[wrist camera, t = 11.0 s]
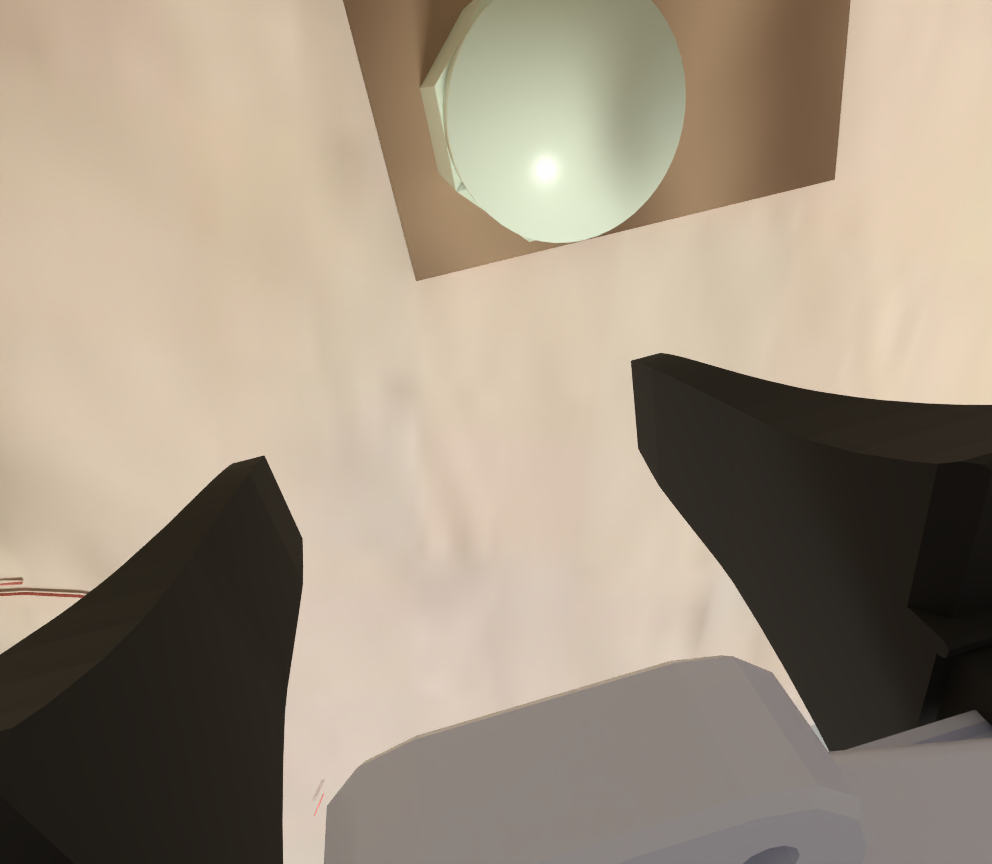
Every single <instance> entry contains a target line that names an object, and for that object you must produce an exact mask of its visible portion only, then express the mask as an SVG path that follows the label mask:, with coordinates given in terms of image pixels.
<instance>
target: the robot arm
mask: <svg viewBox="0 0 992 864" xmlns="http://www.w3.org/2000/svg"><path fill="white" fill-rule="evenodd" d="M631 367H632V379H633V391H634V403H635V415H636V427H637V439H638V449H639V451H640V453H641V454H642V456H643V458H644V460H645V462H646V464H647V466H648V467H649V469H650V471H651V473H652V474H653V476H654V478H655V480H656V481H657V483H658V485H659V486H660V488H661V489H662V490H663V492H664V493H665V494H666V496H667V497H668V498H669V499H670V501H671V502H672V503H673V505H674V506H675V507H676V509H677V510H678V511H679V512H680V514H681V515H682V516H683V518H684V519H685V520H686V521H687V523H688V524H689V525H690V526H691V528H692V529H693V530H694V531H695V533H696V534H697V535H698V537H699V538H700V539H701V540H702V542H703V543H704V544H705V545H706V547H707V548H708V549H709V551H710V552H711V553H712V554H713V556H714V557H715V558H716V559H717V561H718V562H719V563H720V565H721V566H722V567H723V569H724V570H725V572H726V573H727V574H728V576H729V577H730V579H731V580H732V581H733V583H734V584H735V586H736V588H737V589H738V591H739V592H740V594H741V596H742V597H743V599H744V601H745V602H746V604H747V605H748V607H749V609H750V610H751V612H752V614H753V615H754V617H755V618H756V620H757V622H758V623H759V625H760V627H761V628H762V630H763V632H764V634H765V635H766V637H767V639H768V640H769V642H770V644H771V646H772V647H773V649H774V651H775V652H776V654H777V656H778V658H779V659H780V661H781V663H782V664H783V666H784V668H785V670H786V671H787V673H788V675H789V677H790V679H791V681H792V682H793V684H794V686H795V688H796V690H797V691H798V693H799V695H800V697H801V699H802V701H803V702H804V704H805V706H806V708H807V710H808V712H809V713H810V715H811V717H812V719H813V721H814V723H815V724H816V726H817V728H818V730H819V732H820V734H821V736H822V737H823V740H824V742H825V744H826V745H827V747H828V749H829V752H828V751H827V749H826V748H825V747H824V745H823V744H822V742H821V741H820V740H819V738H818V737H817V735H816V734H815V733H814V731H813V730H812V728H811V727H810V725H809V724H808V723H807V721H806V720H805V718H804V717H803V715H802V714H801V713H800V711H799V710H798V708H797V707H796V706H795V704H794V703H793V701H792V700H791V698H790V697H789V696H788V694H787V693H786V691H785V690H784V689H783V687H782V686H781V684H780V683H779V681H778V680H777V679H776V677H775V676H774V674H773V673H772V672H770V671H767V670H765V669H762V668H760V667H757V666H755V665H752V664H750V663H748V662H745V661H743V660H740V659H738V658H735V657H733V656H713V657H703V658H694V659H685V660H676V661H669V662H666V663H662V664H659V665H656V666H652V667H649V668H645V669H642V670H639V671H635V672H632V673H628V674H625V675H622V676H618V677H615V678H611V679H608V680H605V681H601V682H598V683H594V684H591V685H588V686H584V687H581V688H577V689H574V690H571V691H567V692H564V693H561V694H557V695H554V696H550V697H547V698H544V699H540V700H537V701H533V702H530V703H527V704H523V705H520V706H516V707H513V708H510V709H506V710H503V711H499V712H496V713H493V714H489V715H486V716H482V717H479V718H476V719H472V720H469V721H465V722H462V723H459V724H455V725H452V726H449V727H445V728H442V729H438V730H435V731H432V732H428V733H425V734H421V735H418V736H415V737H413V738H411V739H409V740H407V741H405V742H403V743H401V744H399V745H397V746H395V747H393V748H391V749H389V750H387V751H385V752H383V753H381V754H379V755H377V756H375V757H373V758H371V759H369V760H367V761H365V762H364V763H363V764H361V765H360V766H359V767H358V768H357V769H356V770H355V771H354V773H353V774H352V775H351V776H350V778H349V779H348V780H347V781H346V783H345V784H344V785H343V786H342V788H341V789H340V790H339V791H338V793H337V794H336V795H335V796H334V798H333V799H332V800H331V802H330V803H329V804H328V805H327V815H326V834H325V853H324V864H992V405H950V404H925V403H912V402H899V401H885V400H875V399H866V398H858V397H851V396H844V395H838V394H831V393H824V392H818V391H813V390H807V389H802V388H797V387H793V386H789V385H784V384H780V383H775V382H771V381H767V380H763V379H759V378H755V377H751V376H747V375H744V374H740V373H736V372H733V371H729V370H726V369H722V368H719V367H715V366H712V365H708V364H705V363H701V362H698V361H694V360H691V359H687V358H683V357H679V356H675V355H671V354H664V353H659V354H655V355H651V356H647V357H643V358H640V359H636V360H632V361H631ZM302 586H303V542H302V537H301V535H300V532H299V530H298V528H297V526H296V524H295V521H294V519H293V517H292V515H291V513H290V510H289V508H288V506H287V504H286V502H285V500H284V497H283V495H282V493H281V491H280V489H279V486H278V484H277V482H276V480H275V478H274V475H273V473H272V471H271V469H270V467H269V465H268V462H267V460H266V458H265V456H260V457H256V458H253V459H249V460H245V461H241V462H237V463H233V464H231V465H230V466H228V467H227V468H226V469H225V470H223V471H222V472H221V473H220V474H219V475H218V476H217V477H216V478H214V479H213V480H212V481H211V482H210V483H209V484H208V485H207V486H206V487H205V488H204V489H203V490H202V491H201V492H200V493H199V494H198V495H197V496H196V497H195V498H194V499H193V500H192V501H191V502H190V503H189V504H188V505H187V506H186V507H185V508H184V509H183V510H182V511H181V512H180V513H179V514H178V515H177V516H176V517H175V518H174V519H173V520H172V521H171V522H169V523H168V524H167V525H166V526H165V527H164V528H163V529H162V530H161V531H160V532H159V533H158V534H157V535H156V536H154V537H153V538H152V539H151V540H150V541H149V542H148V543H147V544H146V545H145V546H143V547H142V548H141V549H140V550H139V551H138V552H137V553H136V554H135V555H134V556H132V557H131V558H130V559H129V560H128V561H127V562H126V563H125V564H124V565H123V566H121V567H120V568H119V569H118V570H117V571H115V572H114V573H113V574H112V575H111V576H109V577H108V578H107V579H106V580H104V581H103V582H102V583H101V584H100V585H98V586H97V587H96V588H94V589H93V590H92V591H91V592H89V593H88V594H87V595H85V596H84V597H83V598H81V599H80V600H79V601H77V602H76V603H75V604H74V605H72V606H71V607H70V608H68V609H67V610H65V611H64V612H63V613H61V614H60V615H59V616H57V617H56V618H54V619H53V620H51V621H50V622H48V623H47V624H45V625H44V626H42V627H41V628H39V629H38V630H36V631H35V632H33V633H32V634H30V635H29V636H27V637H26V638H24V639H23V640H21V641H20V642H18V643H17V644H16V645H14V646H13V647H11V648H10V649H8V650H7V651H5V652H4V653H2V654H1V655H0V864H283V830H282V812H283V751H284V723H285V706H286V696H287V687H288V680H289V674H290V667H291V661H292V654H293V648H294V641H295V635H296V628H297V622H298V615H299V608H300V601H301V593H302Z"/></svg>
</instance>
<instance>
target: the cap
mask: <svg viewBox="0 0 992 864" xmlns="http://www.w3.org/2000/svg"><path fill="white" fill-rule="evenodd" d="M420 91H421V95H422V100H423V105H424V109H425V114H426V118H427V123H428V128H429V132H430V137H431V142H432V146H433V151H434V155H435V160H436V165H437V169H438V173H439V174H440V175H441V176H442V177H443V178H444V179H445V180H446V181H447V182H448V183H449V184H450V185H451V186H452V188H453V189H454V190H455V191H456V192H458V193H459V194H461V195H462V196H464V197H465V198H467V199H468V200H470V201H471V202H472V203H474V204H475V205H477V206H478V207H480V208H481V209H483V210H484V211H485V212H487V213H488V214H489V215H490V216H491V217H492V218H494V219H495V220H496V221H497V222H499V223H500V224H501V225H503V226H504V227H506V228H508V229H509V230H511V231H513V232H515V233H517V234H519V235H520V236H522V237H523V238H524V239H526V240H527V241H529V242H531V241H535V240H538V241H542V242H551V243H570V242H576V241H582V240H586V239H589V238H592V237H596V236H598V235H601V234H603V233H605V232H607V231H609V230H611V229H613V228H615V227H616V226H618V225H619V224H621V223H623V222H624V221H625V220H627V219H628V218H629V217H630V216H632V215H633V214H634V213H635V212H636V211H637V210H638V209H639V208H640V207H641V206H642V205H643V204H644V203H645V202H646V201H647V200H648V199H649V198H650V196H651V195H652V194H653V193H654V191H655V190H656V189H657V187H658V186H659V184H660V183H661V181H662V179H663V178H664V176H665V175H666V173H667V170H668V168H669V166H670V164H671V162H672V160H673V158H674V155H675V152H676V150H677V147H678V144H679V140H680V136H681V132H682V128H683V122H684V115H685V104H686V86H685V74H684V69H683V64H682V58H681V55H680V51H679V48H678V45H677V42H676V39H675V37H674V35H673V33H672V31H671V29H670V26H669V24H668V23H667V21H666V19H665V18H664V16H663V15H662V13H661V12H660V10H659V9H658V7H657V6H656V5H655V4H654V3H653V2H652V1H651V0H473V1H472V2H471V3H470V4H469V5H467V6H466V7H465V8H464V9H463V10H462V12H461V14H460V15H459V17H458V19H457V21H456V23H455V25H454V26H453V28H452V30H451V32H450V34H449V36H448V37H447V39H446V41H445V43H444V45H443V47H442V48H441V50H440V52H439V54H438V56H437V58H436V59H435V61H434V63H433V65H432V67H431V69H430V70H429V72H428V74H427V76H426V78H425V80H424V81H423V83H422V85H421V87H420Z"/></svg>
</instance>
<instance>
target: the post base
mask: <svg viewBox="0 0 992 864" xmlns="http://www.w3.org/2000/svg"><path fill="white" fill-rule="evenodd" d="M472 1H473V0H343V2H344V5H345V9H346V13H347V17H348V21H349V25H350V29H351V32H352V36H353V40H354V44H355V48H356V52H357V55H358V59H359V63H360V67H361V71H362V75H363V78H364V82H365V86H366V90H367V94H368V98H369V102H370V105H371V109H372V113H373V117H374V121H375V125H376V128H377V132H378V136H379V140H380V144H381V148H382V152H383V155H384V159H385V163H386V167H387V171H388V175H389V178H390V182H391V186H392V190H393V194H394V198H395V202H396V205H397V209H398V213H399V217H400V221H401V225H402V228H403V232H404V236H405V240H406V244H407V248H408V252H409V255H410V259H411V263H412V267H413V271H414V274H415V278H416V281H419V280H423V279H427V278H431V277H435V276H439V275H443V274H448V273H452V272H456V271H460V270H464V269H468V268H472V267H476V266H480V265H485V264H489V263H493V262H497V261H501V260H505V259H509V258H513V257H517V256H522V255H526V254H530V253H534V252H538V251H542V250H546V249H550V248H555V247H559V246H563V245H567V244H571V243H575V242H570V243H551V242H542V241H538V240H535V241H531V242H529V241H527V240H526V239H524V238H523V237H522V236H520V235H519V234H517V233H515V232H513V231H511V230H509V229H508V228H506V227H504V226H503V225H501V224H500V223H499V222H497V221H496V220H495V219H494V218H492V217H491V216H490V215H489V214H488V213H487V212H485V211H484V210H483V209H481V208H480V207H478V206H477V205H475V204H474V203H472V202H471V201H470V200H468V199H467V198H465V197H464V196H462V195H461V194H459V193H458V192H456V191H455V190H454V189H453V188H452V186H451V185H450V184H449V183H448V182H447V181H446V180H445V179H444V178H443V177H442V176H441V175H440V174H439V173H438V169H437V165H436V160H435V155H434V151H433V146H432V142H431V137H430V132H429V128H428V123H427V118H426V114H425V109H424V105H423V100H422V95H421V91H420V87H421V85H422V83H423V81H424V80H425V78H426V76H427V74H428V72H429V70H430V69H431V67H432V65H433V63H434V61H435V59H436V58H437V56H438V54H439V52H440V50H441V48H442V47H443V45H444V43H445V41H446V39H447V37H448V36H449V34H450V32H451V30H452V28H453V26H454V25H455V23H456V21H457V19H458V17H459V15H460V14H461V12H462V10H463V9H464V8H465V7H466V6H467V5H469V4H470V3H471V2H472ZM651 1H652V2H653V3H654V4H655V5H656V6H657V7H658V9H659V10H660V12H661V13H662V15H663V16H664V18H665V19H666V21H667V23H668V24H669V26H670V29H671V31H672V33H673V35H674V37H675V39H676V42H677V45H678V48H679V51H680V55H681V58H682V64H683V69H684V74H685V86H686V104H685V115H684V122H683V128H682V132H681V136H680V140H679V144H678V147H677V150H676V152H675V155H674V158H673V160H672V162H671V164H670V166H669V168H668V170H667V173H666V175H665V176H664V178H663V179H662V181H661V183H660V184H659V186H658V187H657V189H656V190H655V191H654V193H653V194H652V195H651V196H650V198H649V199H648V200H647V201H646V202H645V203H644V204H643V205H642V206H641V207H640V208H639V209H638V210H637V211H636V212H635V213H634V214H633V215H632V216H630V217H629V218H628V219H627V220H625V221H624V222H623V223H621V224H619V225H618V226H616V227H615V228H613V229H611V230H609V231H607V232H605V233H603V234H601V235H598V236H596V237H600V236H604V235H608V234H612V233H616V232H620V231H624V230H629V229H633V228H637V227H641V226H645V225H649V224H653V223H657V222H662V221H666V220H670V219H674V218H678V217H682V216H686V215H690V214H694V213H699V212H703V211H707V210H711V209H715V208H719V207H723V206H727V205H731V204H736V203H740V202H744V201H748V200H752V199H756V198H760V197H764V196H769V195H773V194H777V193H781V192H785V191H789V190H793V189H797V188H801V187H806V186H810V185H814V184H818V183H822V182H826V181H830V180H834V179H835V170H836V158H837V147H838V136H839V124H840V113H841V101H842V90H843V79H844V67H845V56H846V45H847V33H848V22H849V11H850V0H651ZM596 237H592V238H596ZM592 238H589V239H592ZM586 240H587V239H586ZM582 241H583V240H582ZM576 242H579V241H576Z"/></svg>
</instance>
